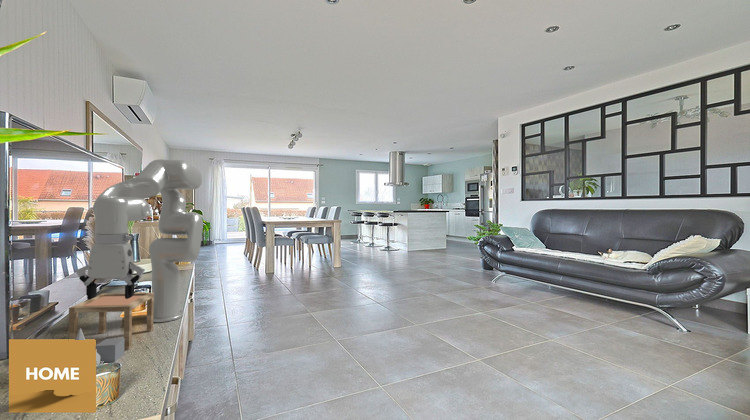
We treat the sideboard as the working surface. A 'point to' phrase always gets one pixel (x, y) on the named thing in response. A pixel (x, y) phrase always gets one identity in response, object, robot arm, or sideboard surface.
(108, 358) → the grey cube
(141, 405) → the sideboard surface
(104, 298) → the trapdoor
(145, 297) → the frame
